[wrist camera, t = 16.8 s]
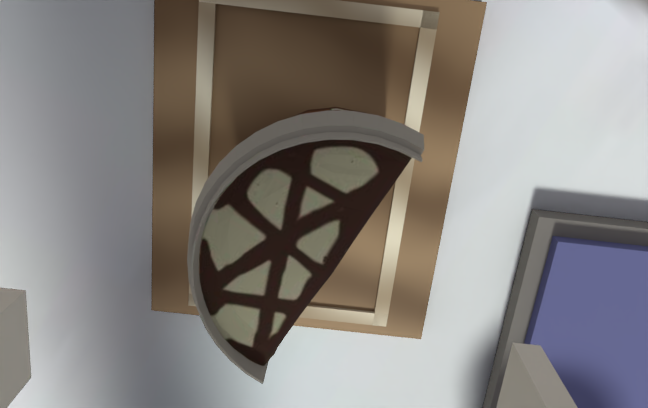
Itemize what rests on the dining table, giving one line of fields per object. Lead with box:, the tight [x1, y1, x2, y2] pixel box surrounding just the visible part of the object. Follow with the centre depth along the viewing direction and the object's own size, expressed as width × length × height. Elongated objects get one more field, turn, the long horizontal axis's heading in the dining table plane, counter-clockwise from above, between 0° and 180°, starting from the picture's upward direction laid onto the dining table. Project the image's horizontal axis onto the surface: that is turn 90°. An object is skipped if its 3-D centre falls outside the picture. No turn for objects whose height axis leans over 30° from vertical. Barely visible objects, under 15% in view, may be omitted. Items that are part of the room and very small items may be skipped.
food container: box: [187, 107, 424, 383], centre depth 26 cm, size 12×6×10 cm, turn 148°
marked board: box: [151, 0, 487, 339], centre depth 32 cm, size 19×16×1 cm
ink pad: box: [483, 209, 648, 408], centre depth 34 cm, size 14×14×2 cm
